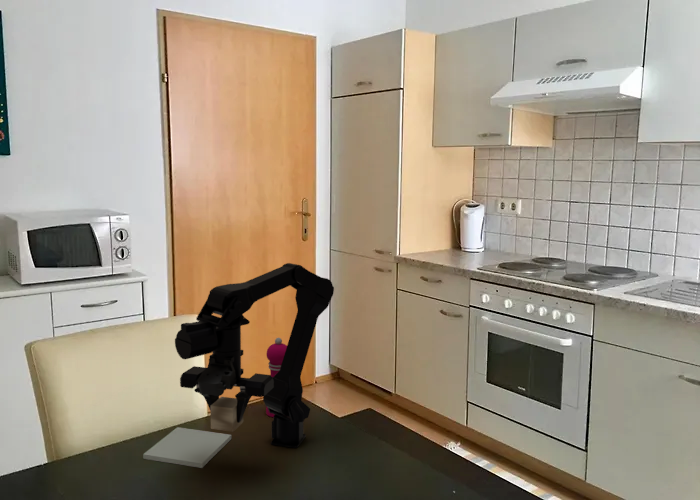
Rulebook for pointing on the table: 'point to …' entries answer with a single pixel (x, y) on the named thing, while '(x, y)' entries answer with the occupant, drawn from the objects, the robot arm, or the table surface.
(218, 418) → the birch cube
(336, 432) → the table surface
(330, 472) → the table surface
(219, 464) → the table surface
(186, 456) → the sage plate
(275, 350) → the pepper mill
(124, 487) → the table surface
